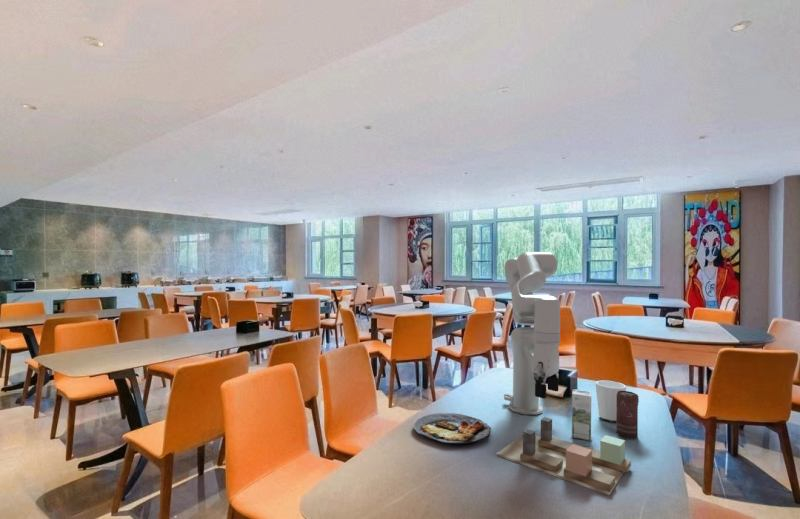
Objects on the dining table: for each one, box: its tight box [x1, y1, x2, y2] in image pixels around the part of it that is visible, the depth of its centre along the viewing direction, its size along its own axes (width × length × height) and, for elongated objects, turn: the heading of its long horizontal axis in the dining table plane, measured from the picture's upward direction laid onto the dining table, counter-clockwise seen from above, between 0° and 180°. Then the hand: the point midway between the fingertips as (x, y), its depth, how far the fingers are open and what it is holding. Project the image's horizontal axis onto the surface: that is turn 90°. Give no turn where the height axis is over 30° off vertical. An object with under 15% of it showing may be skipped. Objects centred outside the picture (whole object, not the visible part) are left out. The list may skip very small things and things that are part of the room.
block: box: [566, 443, 592, 476], centre depth 105 cm, size 5×5×5 cm
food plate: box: [413, 412, 492, 445], centre depth 134 cm, size 25×23×4 cm
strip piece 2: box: [564, 467, 615, 492], centre depth 103 cm, size 11×5×2 cm, turn 49°
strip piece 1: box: [520, 428, 563, 472], centre depth 112 cm, size 10×5×8 cm, turn 49°
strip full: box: [538, 416, 632, 473], centre depth 116 cm, size 24×5×8 cm, turn 48°
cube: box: [599, 434, 626, 465], centre depth 111 cm, size 5×5×5 cm
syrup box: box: [571, 388, 592, 441], centre depth 131 cm, size 6×6×14 cm
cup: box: [595, 379, 627, 423], centre depth 146 cm, size 10×10×13 cm
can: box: [615, 390, 640, 440], centre depth 132 cm, size 6×6×14 cm
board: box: [496, 434, 625, 496], centre depth 115 cm, size 30×20×1 cm, turn 49°
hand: (546, 393), depth 123 cm, fingers open, 9 cm apart
